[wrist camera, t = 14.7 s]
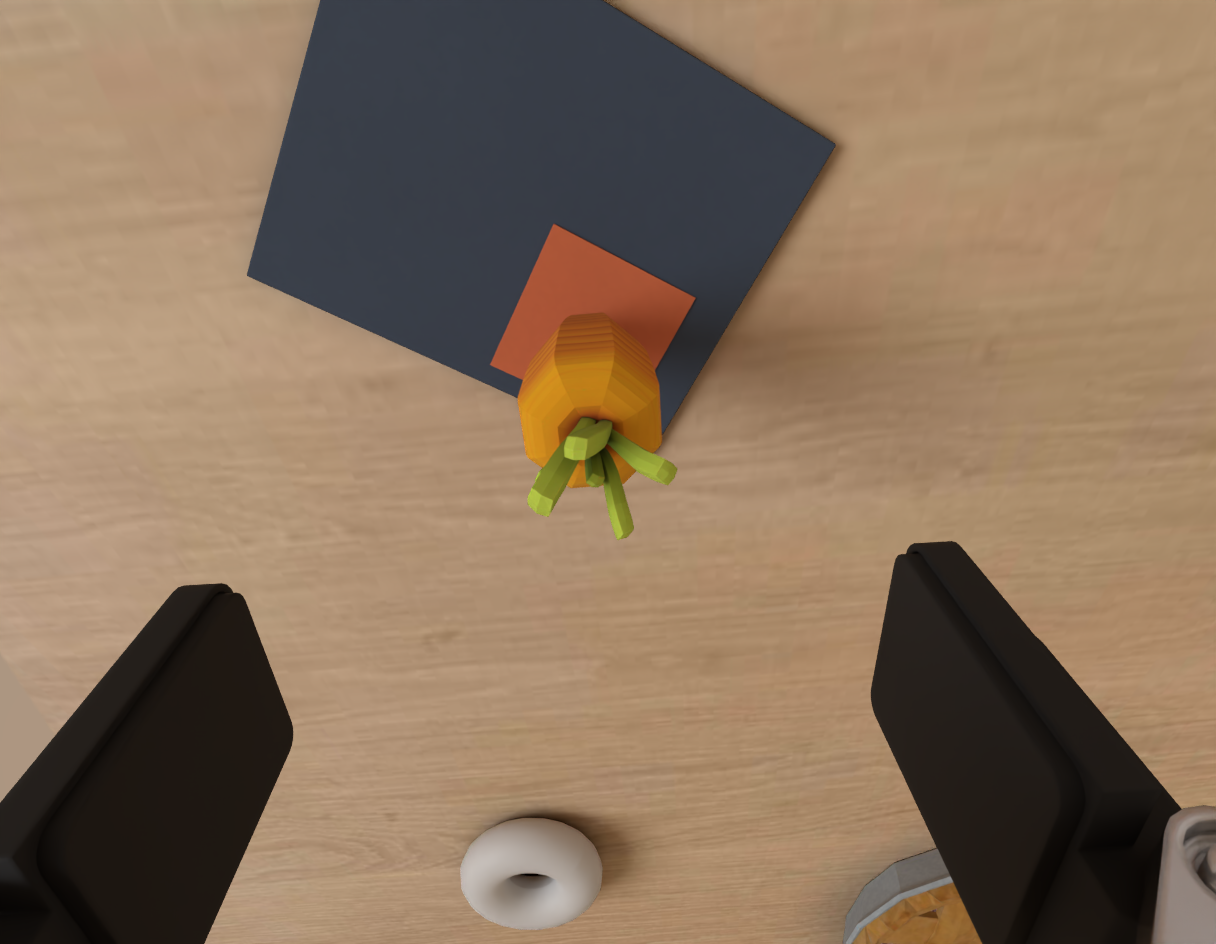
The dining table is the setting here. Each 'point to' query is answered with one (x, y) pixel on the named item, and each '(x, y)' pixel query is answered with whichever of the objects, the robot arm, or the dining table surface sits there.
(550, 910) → the donut
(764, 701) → the dining table surface
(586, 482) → the carrot
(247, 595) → the dining table surface
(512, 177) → the mat
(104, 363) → the dining table surface
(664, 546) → the dining table surface
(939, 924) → the pie
